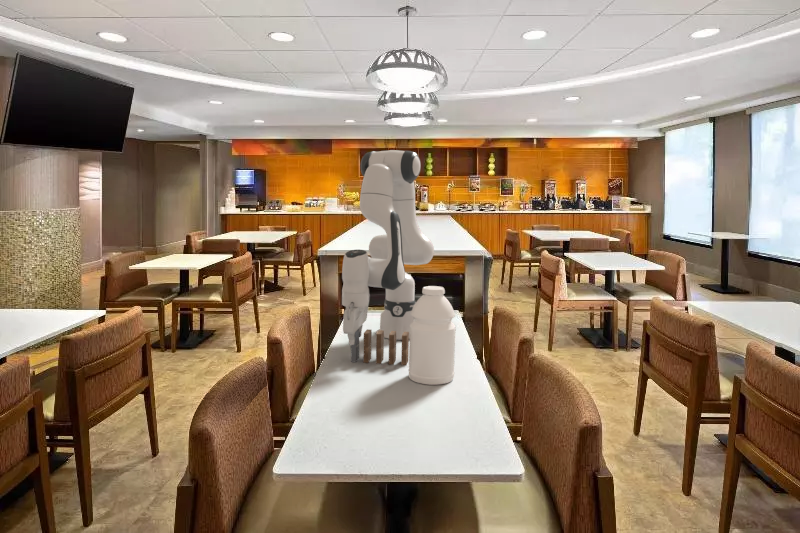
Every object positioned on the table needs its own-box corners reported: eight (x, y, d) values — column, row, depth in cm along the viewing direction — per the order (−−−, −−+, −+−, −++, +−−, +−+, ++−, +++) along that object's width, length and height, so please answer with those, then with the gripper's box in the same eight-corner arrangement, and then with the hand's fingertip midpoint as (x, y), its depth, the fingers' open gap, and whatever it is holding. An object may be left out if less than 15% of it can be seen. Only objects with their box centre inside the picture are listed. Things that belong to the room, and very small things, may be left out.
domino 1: (363, 362, 192) (363, 333, 191) (366, 358, 197) (366, 329, 196) (368, 363, 192) (368, 333, 191) (371, 358, 197) (371, 329, 196)
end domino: (351, 361, 193) (351, 332, 192) (354, 357, 198) (354, 328, 196) (355, 362, 193) (356, 332, 191) (359, 357, 198) (359, 328, 196)
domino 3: (388, 364, 191) (389, 334, 190) (391, 359, 196) (391, 330, 195) (393, 364, 191) (394, 334, 189) (395, 360, 196) (396, 331, 194)
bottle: (413, 386, 171) (415, 292, 167) (404, 371, 184) (405, 284, 180) (459, 384, 173) (463, 291, 169) (447, 369, 187) (449, 283, 183)
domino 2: (375, 363, 192) (376, 333, 190) (378, 359, 197) (379, 330, 195) (380, 363, 191) (381, 334, 190) (383, 359, 196) (383, 330, 195)
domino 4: (401, 365, 190) (401, 335, 189) (403, 360, 195) (404, 331, 194) (406, 365, 190) (406, 335, 189) (408, 360, 195) (408, 331, 194)
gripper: (357, 306, 182) (357, 349, 184) (371, 294, 202) (370, 333, 204) (338, 305, 183) (338, 348, 185) (353, 293, 203) (352, 332, 205)
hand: (355, 340), depth 194 cm, fingers open, 8 cm apart
